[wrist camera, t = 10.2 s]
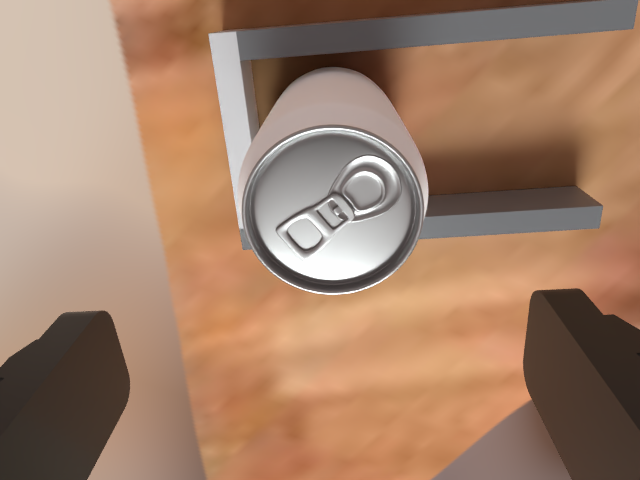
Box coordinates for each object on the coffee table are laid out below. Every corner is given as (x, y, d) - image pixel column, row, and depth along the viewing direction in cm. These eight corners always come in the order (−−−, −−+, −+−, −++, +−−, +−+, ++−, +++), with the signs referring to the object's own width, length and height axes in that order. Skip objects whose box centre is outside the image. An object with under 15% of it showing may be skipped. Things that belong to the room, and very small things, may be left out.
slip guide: (603, -2, 23) (638, -3, 21) (573, 206, 28) (599, 228, 25) (222, 30, 24) (208, 33, 22) (251, 226, 29) (242, 249, 26)
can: (419, 139, 26) (480, 232, 15) (323, 211, 28) (317, 338, 17) (343, 36, 24) (351, 59, 13) (245, 120, 26) (183, 200, 15)
